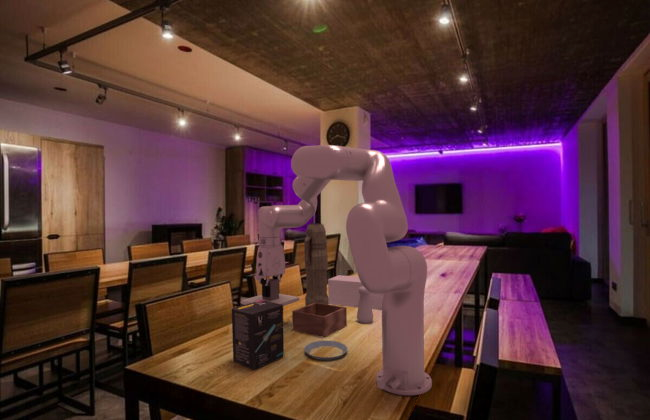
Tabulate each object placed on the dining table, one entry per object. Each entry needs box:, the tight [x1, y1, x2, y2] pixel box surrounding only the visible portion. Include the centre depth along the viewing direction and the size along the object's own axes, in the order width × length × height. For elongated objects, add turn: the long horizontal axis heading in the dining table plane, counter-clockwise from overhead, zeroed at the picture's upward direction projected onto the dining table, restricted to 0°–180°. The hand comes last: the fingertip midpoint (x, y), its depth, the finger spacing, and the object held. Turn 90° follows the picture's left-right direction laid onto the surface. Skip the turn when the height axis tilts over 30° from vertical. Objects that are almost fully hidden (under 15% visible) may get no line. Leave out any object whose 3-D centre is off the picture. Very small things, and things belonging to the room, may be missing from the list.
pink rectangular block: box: [327, 274, 384, 311], centre depth 151 cm, size 32×11×11 cm, turn 63°
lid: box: [240, 277, 300, 307], centre depth 124 cm, size 14×14×8 cm
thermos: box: [303, 222, 330, 307], centre depth 139 cm, size 9×12×35 cm
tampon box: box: [231, 300, 285, 371], centre depth 98 cm, size 11×9×15 cm
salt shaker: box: [356, 286, 374, 324], centre depth 127 cm, size 6×6×13 cm
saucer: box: [304, 340, 348, 361], centre depth 100 cm, size 12×12×2 cm
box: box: [291, 302, 348, 338], centre depth 121 cm, size 13×13×7 cm
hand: (270, 294), depth 124 cm, fingers closed on lid, 4 cm apart
